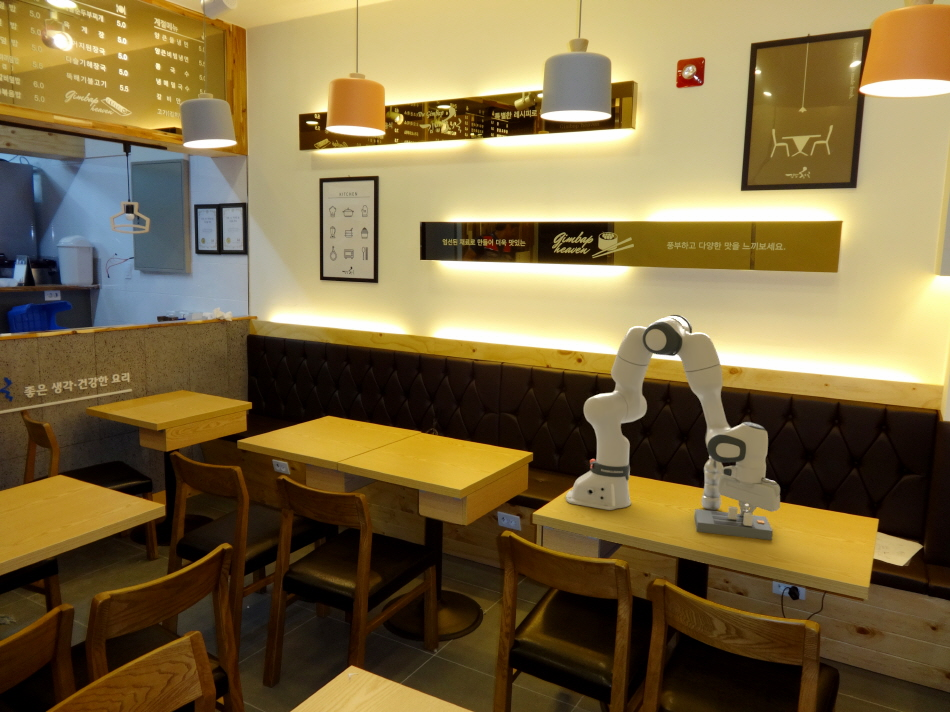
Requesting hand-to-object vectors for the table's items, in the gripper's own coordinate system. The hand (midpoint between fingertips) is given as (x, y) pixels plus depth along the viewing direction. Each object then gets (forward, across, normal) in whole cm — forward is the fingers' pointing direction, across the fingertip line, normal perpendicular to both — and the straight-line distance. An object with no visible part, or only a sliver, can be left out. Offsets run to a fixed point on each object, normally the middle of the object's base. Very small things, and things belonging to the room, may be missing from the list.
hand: (746, 516), depth 222 cm
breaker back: (+1, +3, -3) cm, 5 cm away
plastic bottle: (+5, +18, -7) cm, 20 cm away
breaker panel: (+4, +3, +3) cm, 6 cm away
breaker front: (+1, -3, +4) cm, 5 cm away
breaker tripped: (+1, +3, +3) cm, 4 cm away
